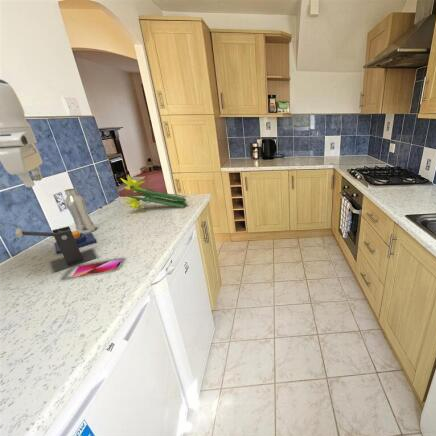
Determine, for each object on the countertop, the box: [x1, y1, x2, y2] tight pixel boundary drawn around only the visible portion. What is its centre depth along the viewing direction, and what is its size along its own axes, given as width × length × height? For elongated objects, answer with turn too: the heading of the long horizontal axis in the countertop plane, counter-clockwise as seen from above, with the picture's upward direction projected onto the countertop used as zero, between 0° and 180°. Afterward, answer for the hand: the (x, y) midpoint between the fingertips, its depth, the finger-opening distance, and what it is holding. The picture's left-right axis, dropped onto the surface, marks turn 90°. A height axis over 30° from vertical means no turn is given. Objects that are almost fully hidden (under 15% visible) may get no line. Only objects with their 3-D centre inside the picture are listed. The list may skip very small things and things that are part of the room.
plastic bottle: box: [64, 188, 96, 234], centre depth 104 cm, size 6×7×20 cm
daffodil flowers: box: [119, 174, 187, 209], centre depth 132 cm, size 17×15×35 cm
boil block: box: [53, 232, 98, 255], centre depth 96 cm, size 12×10×4 cm
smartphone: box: [70, 258, 124, 279], centre depth 81 cm, size 7×1×15 cm
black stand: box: [51, 225, 97, 273], centre depth 83 cm, size 11×9×13 cm
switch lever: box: [15, 228, 62, 239], centre depth 78 cm, size 12×5×2 cm, turn 136°
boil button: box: [71, 230, 81, 239], centre depth 95 cm, size 4×4×2 cm
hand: (34, 183), depth 78 cm, fingers open, 8 cm apart
